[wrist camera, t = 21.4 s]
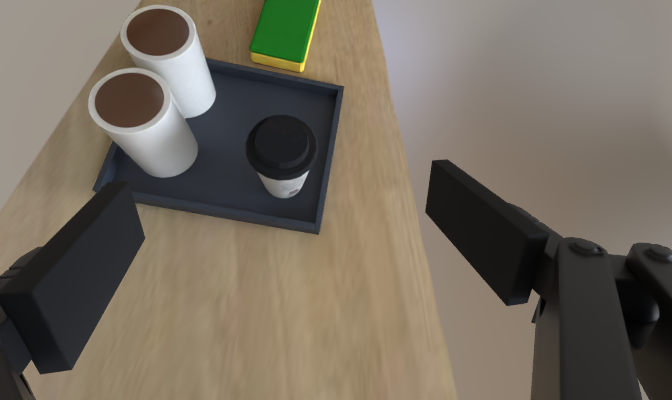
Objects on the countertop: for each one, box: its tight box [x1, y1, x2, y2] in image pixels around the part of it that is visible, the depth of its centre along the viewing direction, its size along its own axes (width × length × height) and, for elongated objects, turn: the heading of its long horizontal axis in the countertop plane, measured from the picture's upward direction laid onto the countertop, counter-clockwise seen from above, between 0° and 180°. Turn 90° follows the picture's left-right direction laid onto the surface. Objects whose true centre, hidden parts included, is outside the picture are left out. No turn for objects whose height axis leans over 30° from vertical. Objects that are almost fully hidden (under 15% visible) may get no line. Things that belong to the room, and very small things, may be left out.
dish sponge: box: [250, 0, 321, 73], centre depth 48 cm, size 7×14×2 cm, turn 170°
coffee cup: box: [245, 115, 318, 198], centre depth 36 cm, size 7×7×10 cm
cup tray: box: [93, 58, 344, 235], centre depth 42 cm, size 24×19×2 cm
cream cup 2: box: [120, 5, 216, 118], centre depth 39 cm, size 7×7×10 cm
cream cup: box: [88, 68, 198, 178], centre depth 36 cm, size 7×7×10 cm
